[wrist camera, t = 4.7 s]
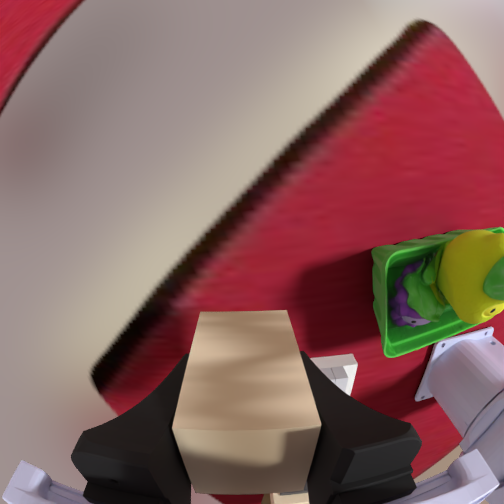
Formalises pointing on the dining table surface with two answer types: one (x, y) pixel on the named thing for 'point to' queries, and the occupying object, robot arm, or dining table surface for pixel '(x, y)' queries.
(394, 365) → the dining table surface
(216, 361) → the maple finger
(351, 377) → the rail
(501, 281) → the fruit basket
